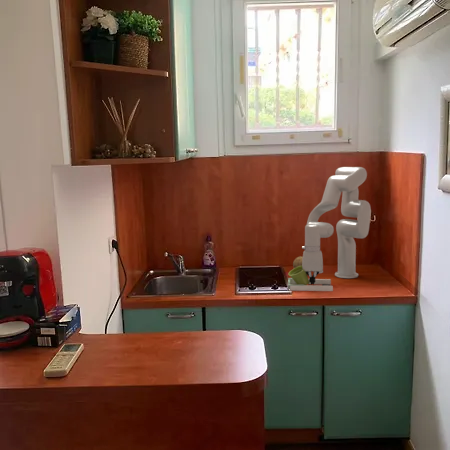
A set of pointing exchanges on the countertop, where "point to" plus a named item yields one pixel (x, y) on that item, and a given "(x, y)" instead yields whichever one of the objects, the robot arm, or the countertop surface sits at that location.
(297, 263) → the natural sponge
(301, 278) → the plant pot
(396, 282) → the countertop surface
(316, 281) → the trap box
